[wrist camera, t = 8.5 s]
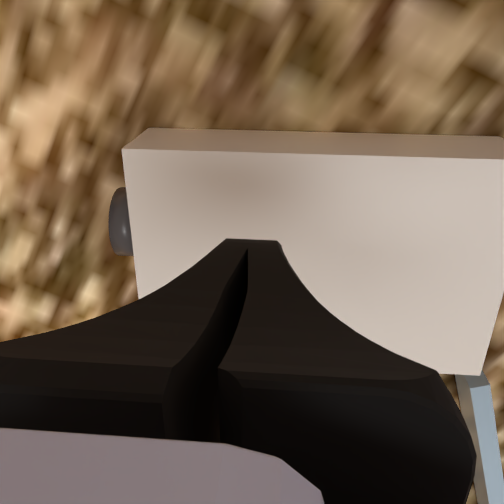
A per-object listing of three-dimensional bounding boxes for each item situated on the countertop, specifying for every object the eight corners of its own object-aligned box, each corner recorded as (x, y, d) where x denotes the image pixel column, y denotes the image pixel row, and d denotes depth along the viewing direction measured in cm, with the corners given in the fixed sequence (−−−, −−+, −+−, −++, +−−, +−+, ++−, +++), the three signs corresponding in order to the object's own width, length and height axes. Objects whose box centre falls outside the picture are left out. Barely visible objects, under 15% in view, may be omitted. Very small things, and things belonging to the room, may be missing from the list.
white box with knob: (499, 136, 19) (540, 160, 16) (454, 326, 23) (479, 376, 20) (125, 127, 20) (93, 147, 17) (145, 311, 24) (122, 355, 21)
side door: (449, 344, 23) (470, 388, 20) (484, 337, 22) (510, 381, 20) (480, 521, 28) (500, 574, 25) (509, 517, 28) (532, 571, 25)
